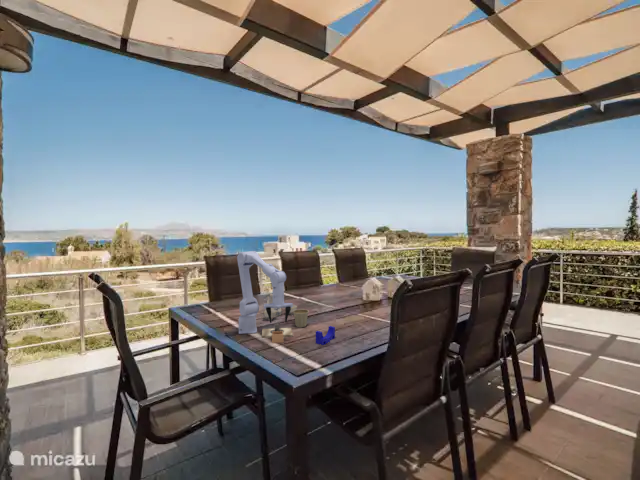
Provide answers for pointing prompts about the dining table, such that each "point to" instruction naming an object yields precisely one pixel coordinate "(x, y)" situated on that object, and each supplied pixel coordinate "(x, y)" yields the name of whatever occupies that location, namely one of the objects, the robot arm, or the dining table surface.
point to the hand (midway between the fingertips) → (278, 322)
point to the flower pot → (300, 317)
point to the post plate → (269, 335)
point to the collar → (277, 336)
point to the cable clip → (327, 338)
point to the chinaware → (276, 309)
